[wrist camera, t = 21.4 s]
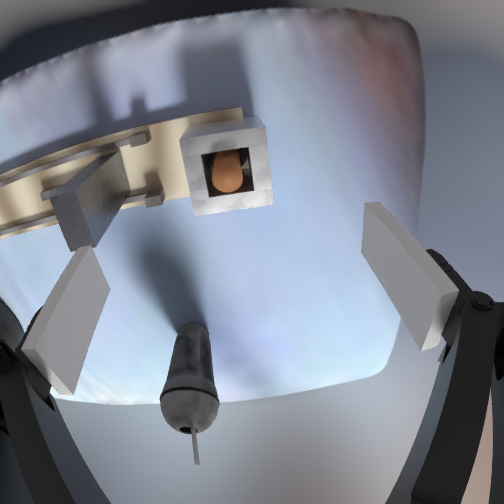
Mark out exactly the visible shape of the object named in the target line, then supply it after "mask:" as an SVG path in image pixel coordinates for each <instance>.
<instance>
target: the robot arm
mask: <svg viewBox="0 0 504 504" xmlns="http://www.w3.org/2000/svg"><path fill="white" fill-rule="evenodd" d="M361 253H362V254H363V256H364V258H365V259H366V261H367V262H368V264H369V265H370V267H371V268H372V270H373V272H374V273H375V275H376V276H377V278H378V279H379V281H380V283H381V284H382V286H383V288H384V289H385V291H386V292H387V294H388V296H389V297H390V299H391V301H392V302H393V304H394V306H395V307H396V309H397V311H398V312H399V314H400V316H401V318H402V319H403V321H404V323H405V325H406V326H407V328H408V330H409V331H410V333H411V335H412V337H413V339H414V340H415V342H416V344H417V346H418V348H419V350H420V351H424V350H427V349H430V348H433V347H436V346H437V345H438V343H439V341H440V338H441V336H443V338H444V340H445V341H446V345H445V347H444V349H443V351H442V353H441V355H440V357H439V359H438V361H440V365H439V369H438V373H437V376H436V380H435V383H434V387H433V390H432V393H431V396H430V400H429V403H428V406H427V409H426V411H425V414H424V417H423V420H422V423H421V426H420V428H419V431H418V434H417V436H416V439H415V441H414V444H413V446H412V449H411V451H410V453H409V456H408V458H407V460H406V462H405V465H404V467H403V469H402V471H401V473H400V476H399V478H398V480H397V482H396V484H395V486H394V488H393V490H392V492H391V494H390V496H389V498H388V499H387V501H386V503H385V504H461V501H462V497H463V495H464V492H465V489H466V486H467V484H468V481H469V478H470V474H471V471H472V468H473V465H474V462H475V458H476V455H477V451H478V447H479V443H480V439H481V435H482V431H483V426H484V422H485V417H486V411H487V406H488V401H489V394H490V388H491V397H492V414H493V461H492V476H491V488H490V497H489V504H504V302H494V300H493V299H492V298H491V297H490V296H489V295H487V294H485V293H483V292H479V291H472V290H471V288H470V287H469V286H468V285H467V284H466V282H465V281H464V280H463V279H462V278H461V277H460V275H459V274H458V273H457V272H456V271H454V269H453V267H452V266H451V265H450V264H448V262H447V261H446V260H445V258H444V257H443V256H442V255H441V254H439V253H437V252H436V251H434V250H432V249H428V250H425V249H424V248H423V247H422V246H421V245H420V244H419V243H418V242H417V240H416V239H415V238H414V237H413V236H412V235H411V234H410V233H409V232H408V231H407V230H406V229H405V228H404V227H403V225H402V224H401V223H400V222H399V221H398V220H397V219H396V218H395V217H394V216H393V215H392V214H391V213H390V212H389V211H388V210H387V209H386V208H385V207H384V206H383V205H382V204H381V203H380V202H370V203H364V222H363V237H362V250H361ZM109 291H110V287H109V285H108V283H107V281H106V279H105V276H104V274H103V272H102V270H101V267H100V265H99V263H98V261H97V258H96V256H95V254H94V251H93V249H92V246H91V245H89V246H84V247H79V248H78V249H77V251H76V252H75V254H74V255H73V257H72V258H71V260H70V262H69V263H68V265H67V266H66V268H65V270H64V271H63V273H62V274H61V276H60V278H59V279H58V281H57V283H56V284H55V286H54V288H53V290H52V291H51V293H50V295H49V297H48V298H47V300H46V302H45V304H44V305H43V306H42V307H41V308H40V309H39V310H38V311H37V312H36V313H35V315H34V317H33V318H32V320H31V322H30V324H29V326H28V328H27V331H26V332H25V334H24V331H23V329H22V327H21V325H20V323H19V321H18V320H17V318H16V317H15V316H14V314H13V313H12V312H11V311H10V310H9V309H8V308H7V307H6V306H5V305H4V304H3V303H2V302H1V301H0V504H111V503H110V502H109V500H108V499H107V497H106V496H105V494H104V493H103V491H102V489H101V488H100V486H99V485H98V483H97V481H96V480H95V478H94V477H93V475H92V473H91V472H90V470H89V468H88V466H87V465H86V463H85V461H84V459H83V458H82V456H81V454H80V452H79V450H78V448H77V446H76V445H75V442H74V440H73V439H72V437H71V435H70V432H69V431H68V428H67V426H66V424H65V422H64V420H63V418H62V416H61V413H60V411H59V409H58V406H57V404H56V402H55V399H54V397H53V396H52V395H51V394H50V389H51V386H52V387H53V388H54V389H55V390H56V391H57V392H58V393H59V394H63V395H74V392H75V389H76V385H77V382H78V379H79V376H80V372H81V369H82V366H83V363H84V360H85V357H86V354H87V351H88V348H89V345H90V342H91V339H92V336H93V333H94V331H95V328H96V325H97V322H98V320H99V317H100V314H101V312H102V309H103V307H104V304H105V301H106V299H107V296H108V294H109ZM33 502H34V503H33Z"/></svg>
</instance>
